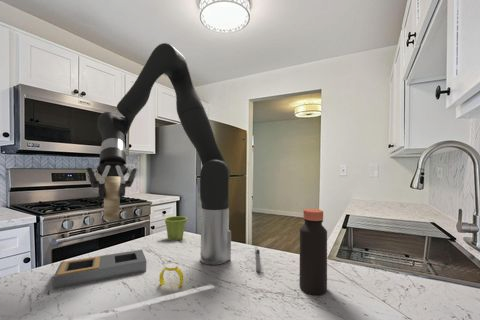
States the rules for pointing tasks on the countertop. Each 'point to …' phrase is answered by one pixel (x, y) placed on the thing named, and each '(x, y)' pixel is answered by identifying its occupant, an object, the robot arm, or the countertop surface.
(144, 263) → the base plate
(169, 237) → the plant pot
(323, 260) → the bottle
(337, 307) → the countertop surface
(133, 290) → the countertop surface
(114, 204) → the peg
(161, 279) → the watch
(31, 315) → the countertop surface
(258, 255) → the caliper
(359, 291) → the countertop surface
